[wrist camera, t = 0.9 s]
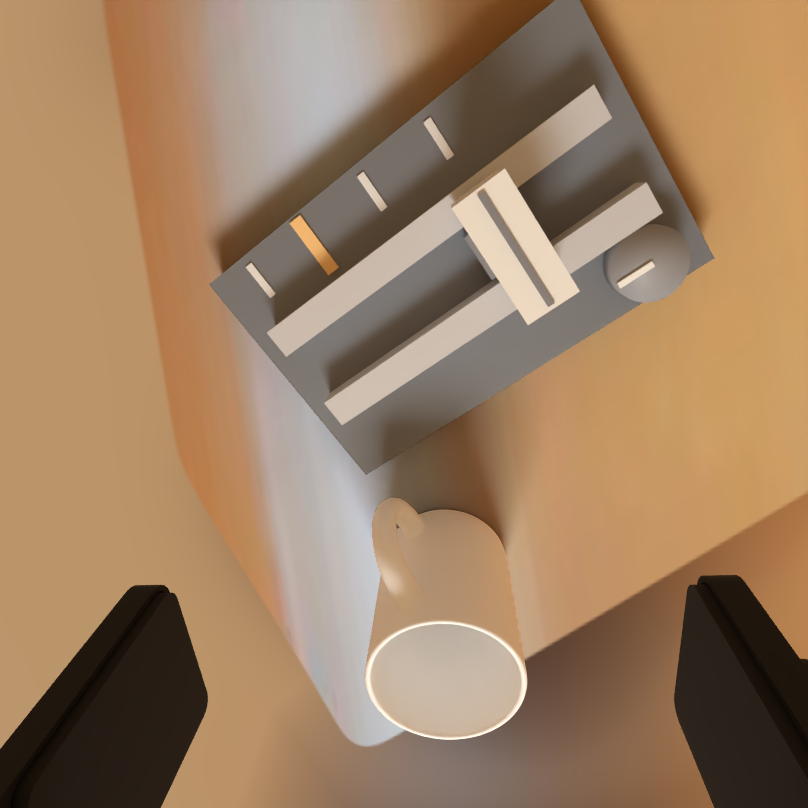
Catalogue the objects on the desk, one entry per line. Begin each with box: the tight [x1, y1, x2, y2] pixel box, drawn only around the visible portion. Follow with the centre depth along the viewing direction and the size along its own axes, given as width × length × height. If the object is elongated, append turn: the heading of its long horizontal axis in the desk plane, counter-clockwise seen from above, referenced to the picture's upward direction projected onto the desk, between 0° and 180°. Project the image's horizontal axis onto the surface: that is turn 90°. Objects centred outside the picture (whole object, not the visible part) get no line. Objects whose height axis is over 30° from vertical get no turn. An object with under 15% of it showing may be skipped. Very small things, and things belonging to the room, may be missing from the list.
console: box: [209, 0, 714, 474], centre depth 28 cm, size 22×14×4 cm, turn 126°
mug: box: [365, 498, 527, 739], centre depth 32 cm, size 12×8×10 cm
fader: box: [451, 168, 580, 325], centre depth 24 cm, size 3×6×6 cm, turn 36°
